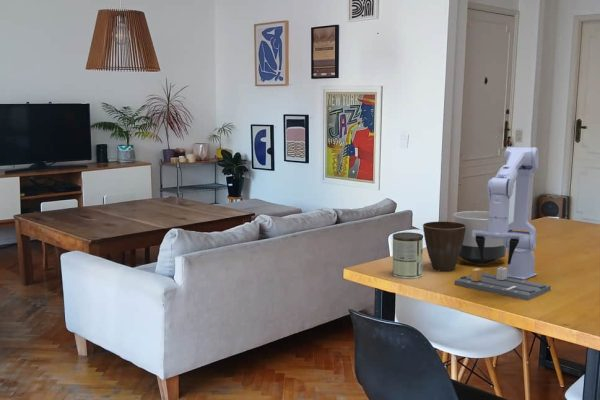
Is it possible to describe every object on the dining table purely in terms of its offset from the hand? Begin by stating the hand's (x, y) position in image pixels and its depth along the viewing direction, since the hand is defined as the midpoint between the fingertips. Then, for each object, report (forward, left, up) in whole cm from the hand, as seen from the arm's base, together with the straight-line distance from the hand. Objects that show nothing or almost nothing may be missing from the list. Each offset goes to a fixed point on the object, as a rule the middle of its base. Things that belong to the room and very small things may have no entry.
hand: (495, 262), depth 190 cm
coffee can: (-3, -34, -11) cm, 36 cm away
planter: (-38, -27, -11) cm, 48 cm away
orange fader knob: (-7, -10, -9) cm, 15 cm away
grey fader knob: (-14, -5, -9) cm, 17 cm away
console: (-11, -3, -10) cm, 15 cm away
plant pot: (-19, -30, -11) cm, 37 cm away
